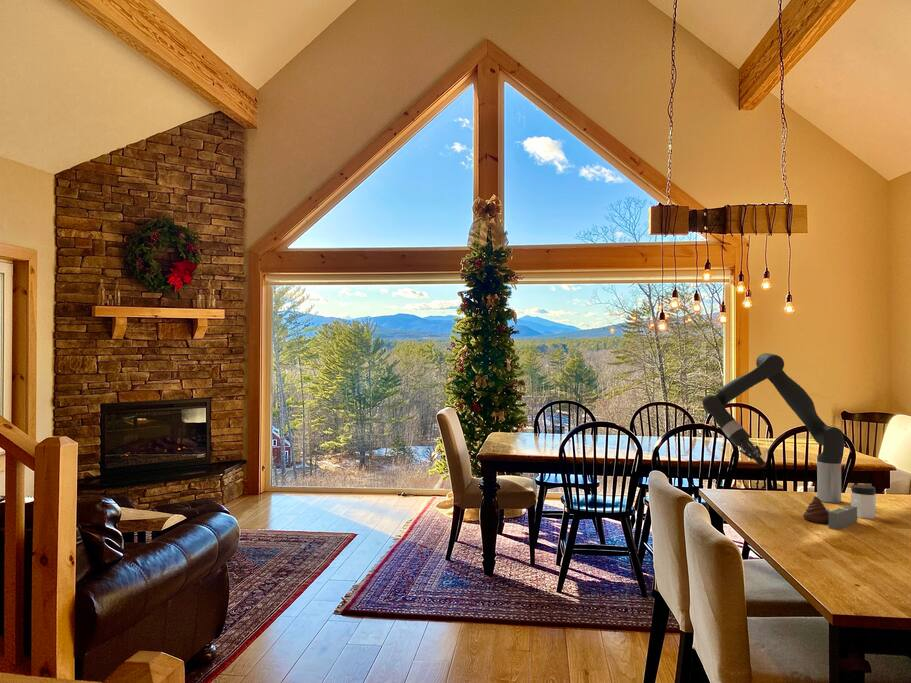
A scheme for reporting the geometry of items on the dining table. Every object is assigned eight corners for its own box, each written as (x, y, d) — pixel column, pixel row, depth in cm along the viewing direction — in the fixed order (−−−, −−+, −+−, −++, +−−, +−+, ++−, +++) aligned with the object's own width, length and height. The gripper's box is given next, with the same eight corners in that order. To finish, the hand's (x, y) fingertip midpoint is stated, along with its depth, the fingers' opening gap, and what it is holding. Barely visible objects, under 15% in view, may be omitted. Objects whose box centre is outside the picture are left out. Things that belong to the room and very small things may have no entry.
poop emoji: (798, 518, 248) (798, 494, 249) (815, 517, 251) (815, 493, 251) (818, 525, 239) (819, 500, 239) (836, 523, 241) (836, 499, 241)
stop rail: (848, 520, 245) (848, 504, 245) (857, 522, 243) (857, 506, 243) (828, 527, 234) (828, 511, 235) (837, 529, 232) (837, 512, 232)
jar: (845, 514, 256) (845, 484, 256) (860, 512, 258) (860, 483, 258) (865, 519, 247) (865, 489, 247) (881, 518, 250) (881, 488, 250)
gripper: (733, 428, 267) (762, 461, 257) (749, 426, 275) (777, 458, 265) (722, 439, 271) (749, 472, 261) (737, 437, 279) (764, 469, 269)
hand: (763, 465), depth 263 cm, fingers closed
